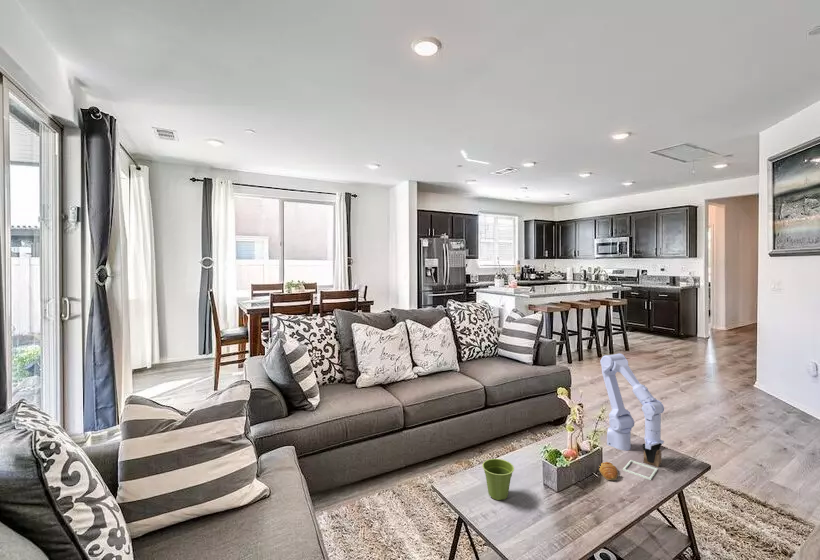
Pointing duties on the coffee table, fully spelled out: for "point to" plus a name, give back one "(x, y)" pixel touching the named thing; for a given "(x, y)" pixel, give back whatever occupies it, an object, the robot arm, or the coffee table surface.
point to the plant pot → (498, 477)
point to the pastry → (608, 471)
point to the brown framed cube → (657, 458)
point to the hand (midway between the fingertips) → (652, 459)
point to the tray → (641, 465)
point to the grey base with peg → (655, 466)
